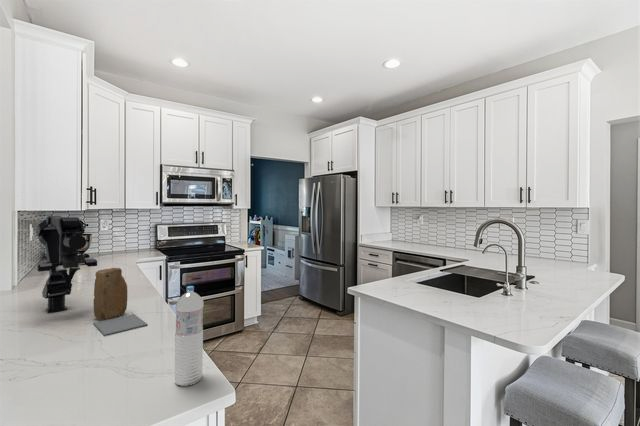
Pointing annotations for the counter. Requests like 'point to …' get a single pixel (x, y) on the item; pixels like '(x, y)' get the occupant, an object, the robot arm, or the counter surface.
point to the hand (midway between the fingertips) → (68, 285)
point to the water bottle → (189, 338)
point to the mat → (119, 324)
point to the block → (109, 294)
